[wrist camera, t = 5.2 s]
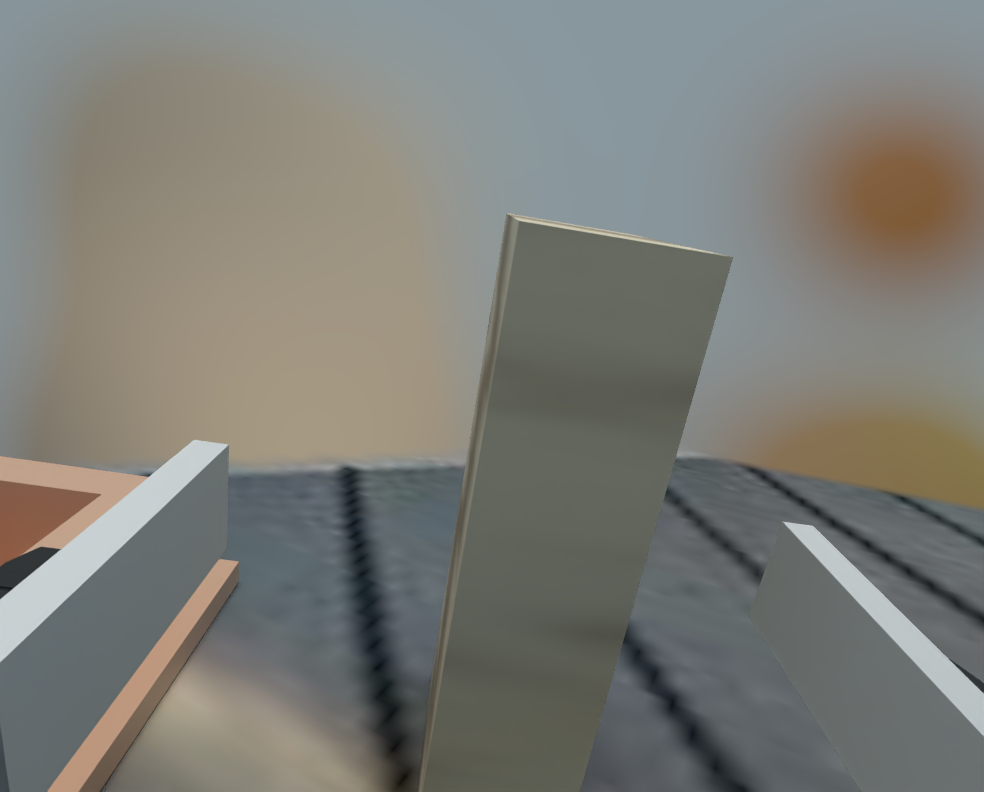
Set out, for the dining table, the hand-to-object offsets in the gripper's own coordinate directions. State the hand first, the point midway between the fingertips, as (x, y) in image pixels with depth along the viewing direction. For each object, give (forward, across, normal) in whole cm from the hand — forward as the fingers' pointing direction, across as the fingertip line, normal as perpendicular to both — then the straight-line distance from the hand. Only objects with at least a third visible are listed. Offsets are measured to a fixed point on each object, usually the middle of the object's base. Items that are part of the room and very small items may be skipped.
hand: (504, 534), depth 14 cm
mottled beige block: (+1, +1, -9) cm, 9 cm away
